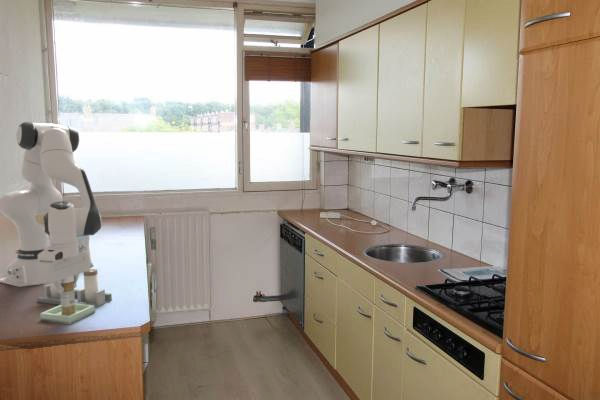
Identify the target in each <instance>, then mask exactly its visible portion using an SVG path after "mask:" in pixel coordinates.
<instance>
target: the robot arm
mask: <svg viewBox="0 0 600 400" xmlns="http://www.w3.org/2000/svg"><path fill="white" fill-rule="evenodd" d="M15 139H16V141H17V144H18V146H19V147H20V148H21V149H23V150H24V154H23V160H22V166H21V172H20V173H21V176H22V177H23V179H24V180H25V181H26V182H28V183H30V184H31V187H30V188H29V189H23V190H22V189H21V190H13V191H10V192H7V193H4V194H2V195H1V196H0V213H1V214H2V216H4V217H6V218H7V219H9V220H10V221H11V222H12V223H13V224H14V226H15V228H16V230H17V233H18V234H17V235H18V239H19V241H18V242H19V248H20V249H18V250H16V251H15V254H17V256H16V258H15V259H14V260H13V261H12V262H11V263H10V264H8V265H7V266H6V268H5V276H4V277H2V278H0V283H2V284H7V285H10V286H14V287H18V288H21V287H28V286H29V287H30V286H37V285H49V284H52V283H54V285H55V286H56V288H57V293H62V292H64V287H62V286H61V284H60V283H62V281H61V280H63V279H66V278H68V277H71V276H74V282H73V283H74V289H76V288H77V283H78V280H79V277H80V274H83V272H85V271H88V270H89V269H91V266H90V260H89V255H88V252H87V248H86V247H85V246H84V245H81V246H78V238H77V235H89V236H95V235H96V234H97V233H98V232H99V231H100V230H101V229H102V225H103V224H102V223H103V222H102V221H103V220H102V216H101V213H100V211H99V209H98V206H97V204H96V201H95V198H94V194H93V191H92V189H91V185H90V182H89V179H88V177H87V174H86V171H85V170H84V168H82V167H80V166H79V165H78V164H77V163H76V161H75V160H74V152H75V151H77V149H78V147H79V144H80V134H79V132H78V130H77V129H76V128H75V127H71V126H68V125H67V126H65V125H61V124H57V123H52V122H51V123H45V122H32V121H26V122H22V123H20V124H19V126H18V128H17V129H16V136H15ZM53 180H54V181H56V182H58V183H59V182H61V183H64V184H66V185H67V184H68V185H70V186H72V187H74V188H76V190H77V191H78V192H79V193H78V194H79V195H80V199H81V203H82V205H83V206H82V207H75V205H74V204H73V202H70V201H64V199H63V196H62V193H61V191H59V190H58V189H57V188H56V187H55V185H54V183H53ZM44 214H45V215H44ZM38 215H39V216H40V215H44V216H43V219H42V220H43V221H44V223H43V224H41V223H39V222H38V221H37V217H36V216H38Z"/></svg>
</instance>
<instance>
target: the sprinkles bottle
mask: <svg viewBox="0 0 600 400" xmlns="http://www.w3.org/2000/svg"><path fill="white" fill-rule="evenodd" d="M61 281H62V283H60V284H61V286H62V287H64V292H62V293H60V296H61V310H62V313H61V315H66V316H70V315H72V314H74V313H76V312H75V301H76V300H75V299H76V297H75V294H74V289H75V288H74V283H73V282H74V276H71V277H68V278H66V279H63V280H61Z"/></svg>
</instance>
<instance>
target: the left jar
mask: <svg viewBox="0 0 600 400" xmlns="http://www.w3.org/2000/svg"><path fill="white" fill-rule="evenodd" d="M50 292H51V298H55V299H60V293H57V288H56V286H55V285H54V283H52V284H50Z"/></svg>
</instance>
